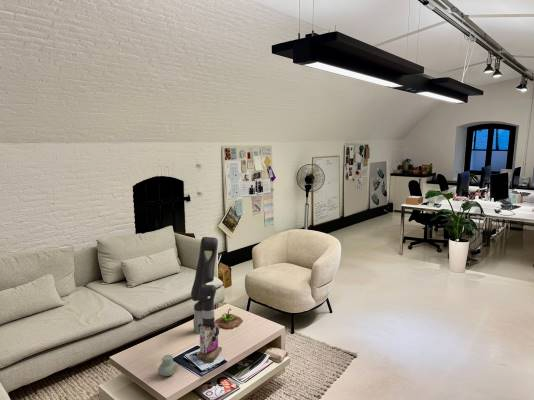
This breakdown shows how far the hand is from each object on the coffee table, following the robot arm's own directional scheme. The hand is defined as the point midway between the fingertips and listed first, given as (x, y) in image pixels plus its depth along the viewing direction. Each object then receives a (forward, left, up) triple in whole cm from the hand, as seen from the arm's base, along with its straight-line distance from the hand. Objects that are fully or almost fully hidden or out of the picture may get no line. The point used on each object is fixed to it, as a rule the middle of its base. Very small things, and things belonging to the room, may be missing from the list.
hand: (209, 340), depth 239 cm
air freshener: (-15, -24, -10) cm, 30 cm away
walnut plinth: (0, 0, -10) cm, 10 cm away
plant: (-6, +44, -11) cm, 46 cm away
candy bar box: (0, 0, -6) cm, 6 cm away
